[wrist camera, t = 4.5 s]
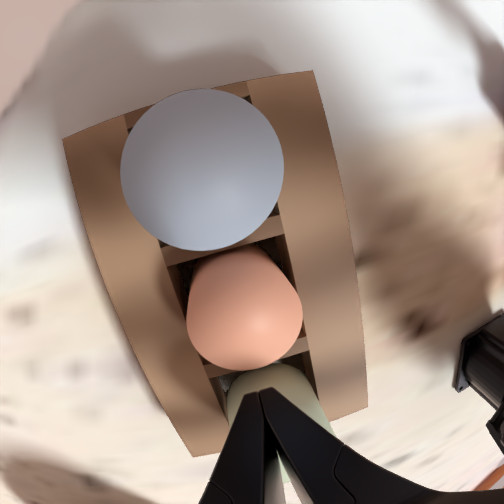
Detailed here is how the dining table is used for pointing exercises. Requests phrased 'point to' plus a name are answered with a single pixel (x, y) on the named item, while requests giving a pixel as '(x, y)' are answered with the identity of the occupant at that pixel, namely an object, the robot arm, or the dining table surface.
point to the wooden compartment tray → (277, 224)
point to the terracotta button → (242, 309)
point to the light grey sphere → (202, 169)
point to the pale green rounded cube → (286, 383)
